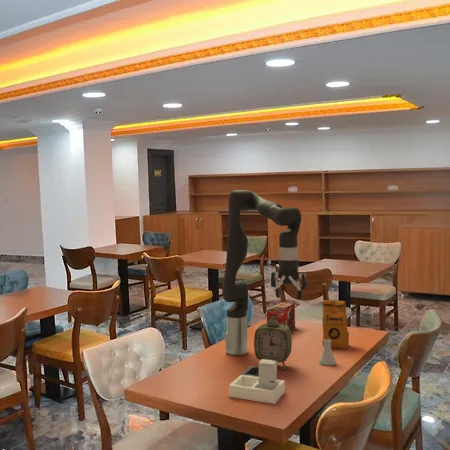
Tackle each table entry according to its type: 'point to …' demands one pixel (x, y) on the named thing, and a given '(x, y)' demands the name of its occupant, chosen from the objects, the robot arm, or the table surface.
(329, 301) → the coffee package
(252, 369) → the socket block
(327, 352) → the flask
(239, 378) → the cream divided tray
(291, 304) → the ice cream box
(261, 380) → the skincare box
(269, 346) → the tabletop clock
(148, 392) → the table surface
